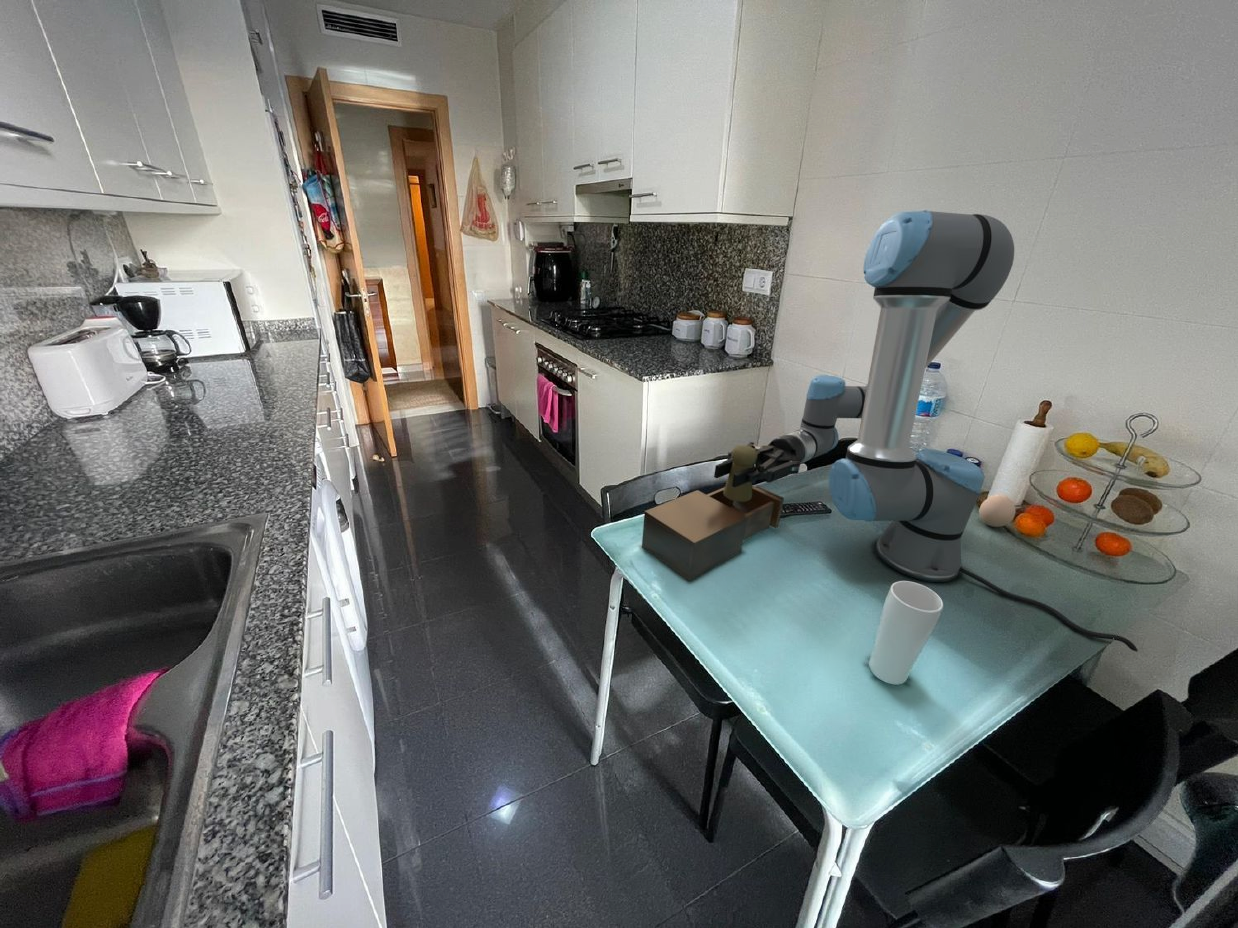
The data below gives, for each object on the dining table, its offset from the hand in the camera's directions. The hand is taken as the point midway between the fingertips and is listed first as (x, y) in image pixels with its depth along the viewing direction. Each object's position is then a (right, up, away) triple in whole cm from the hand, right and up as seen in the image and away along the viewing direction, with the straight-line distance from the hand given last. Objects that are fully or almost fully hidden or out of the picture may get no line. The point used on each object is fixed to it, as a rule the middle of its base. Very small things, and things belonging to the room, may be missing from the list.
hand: (725, 476), depth 101 cm
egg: (+67, -12, +17) cm, 70 cm away
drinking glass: (+19, -30, -25) cm, 43 cm away
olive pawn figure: (+4, -4, +6) cm, 8 cm away
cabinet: (-7, -15, +2) cm, 17 cm away
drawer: (+6, -10, +11) cm, 16 cm away
